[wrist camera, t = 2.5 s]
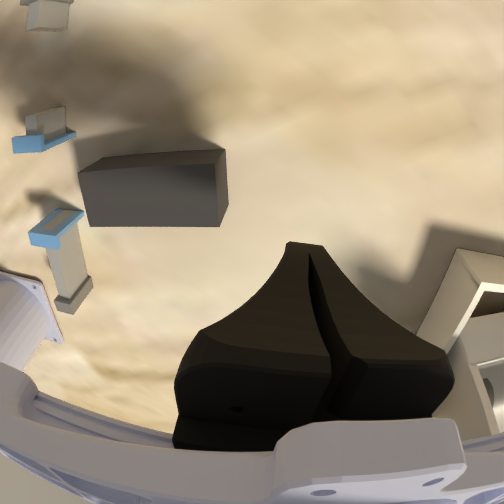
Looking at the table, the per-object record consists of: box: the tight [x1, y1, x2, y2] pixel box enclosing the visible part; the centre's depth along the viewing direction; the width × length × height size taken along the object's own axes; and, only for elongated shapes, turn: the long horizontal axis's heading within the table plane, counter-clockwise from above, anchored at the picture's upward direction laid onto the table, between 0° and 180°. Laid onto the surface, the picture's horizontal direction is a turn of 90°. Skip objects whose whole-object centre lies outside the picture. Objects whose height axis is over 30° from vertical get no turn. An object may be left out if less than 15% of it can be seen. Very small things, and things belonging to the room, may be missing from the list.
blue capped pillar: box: [12, 0, 93, 315], centre depth 16 cm, size 3×22×4 cm, turn 175°
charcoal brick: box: [78, 149, 229, 227], centre depth 18 cm, size 8×3×3 cm, turn 91°
